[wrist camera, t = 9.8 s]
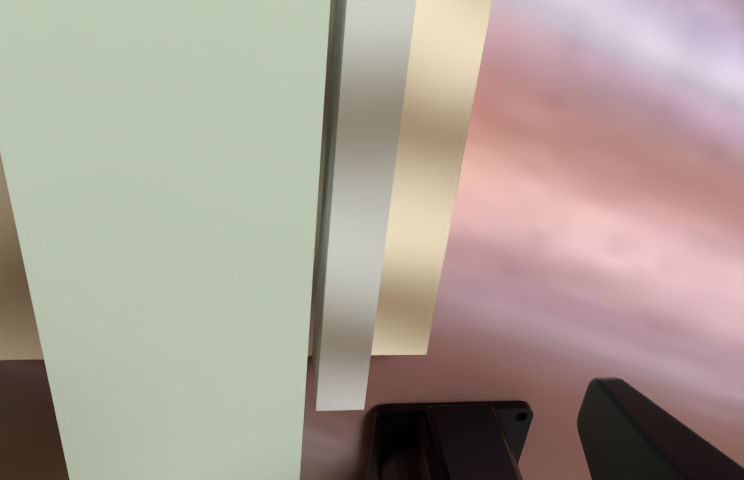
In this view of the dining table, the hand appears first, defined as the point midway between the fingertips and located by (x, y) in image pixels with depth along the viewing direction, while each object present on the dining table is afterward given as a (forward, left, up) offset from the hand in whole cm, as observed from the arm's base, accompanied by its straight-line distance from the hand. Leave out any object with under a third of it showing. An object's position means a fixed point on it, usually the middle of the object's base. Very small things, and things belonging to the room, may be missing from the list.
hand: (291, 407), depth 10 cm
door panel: (+1, +2, -10) cm, 10 cm away
